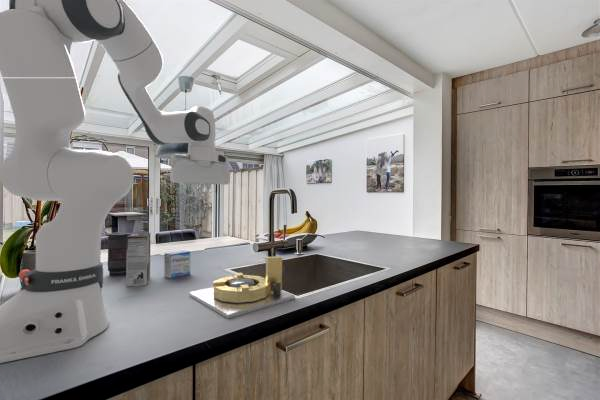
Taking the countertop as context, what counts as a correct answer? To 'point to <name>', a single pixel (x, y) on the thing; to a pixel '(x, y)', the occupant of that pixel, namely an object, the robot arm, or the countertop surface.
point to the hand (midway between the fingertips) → (201, 197)
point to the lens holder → (245, 292)
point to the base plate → (242, 307)
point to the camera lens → (117, 254)
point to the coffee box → (138, 259)
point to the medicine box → (176, 264)
